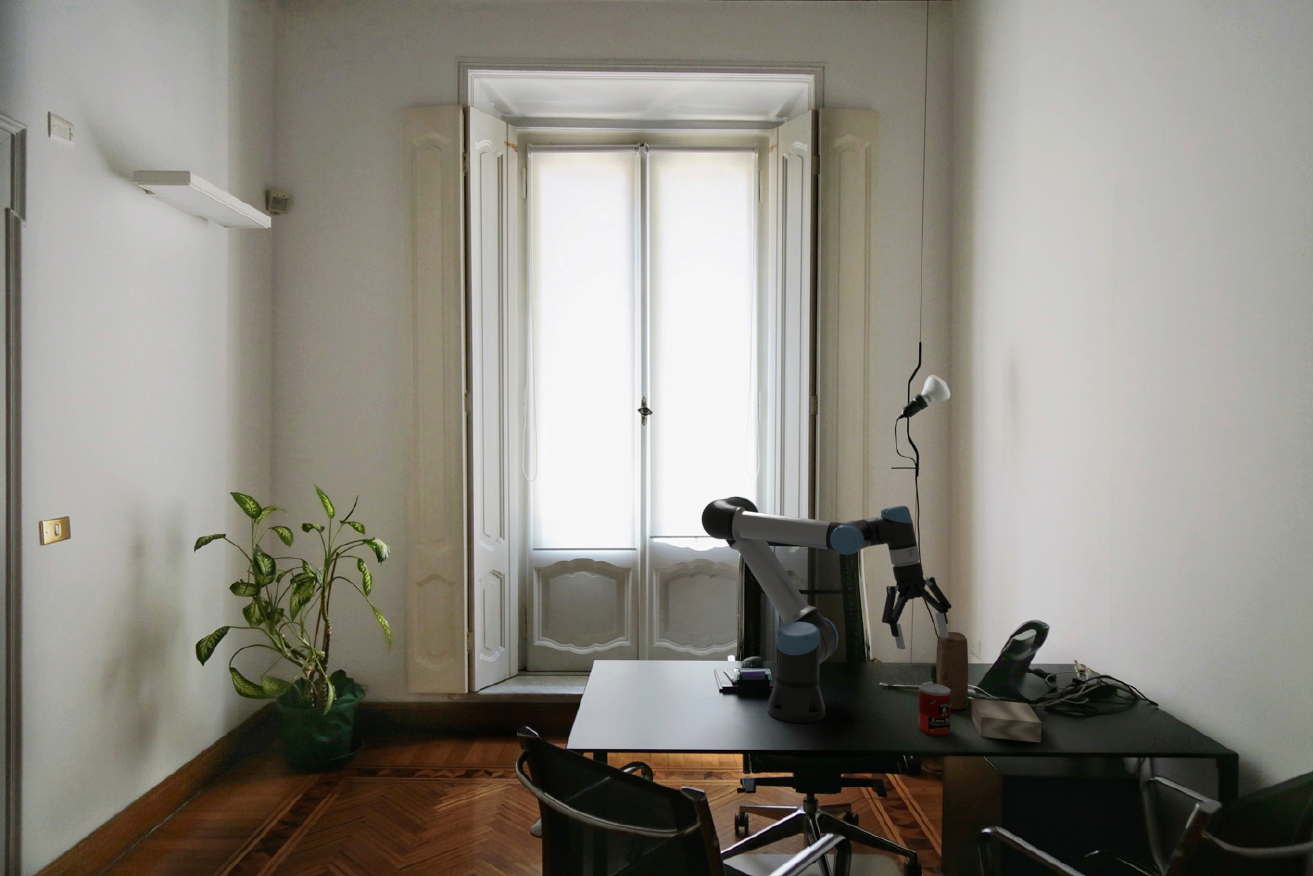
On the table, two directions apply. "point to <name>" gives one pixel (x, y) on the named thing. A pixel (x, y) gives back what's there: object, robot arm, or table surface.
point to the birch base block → (1006, 720)
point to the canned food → (934, 709)
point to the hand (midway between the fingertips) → (923, 643)
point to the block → (953, 667)
